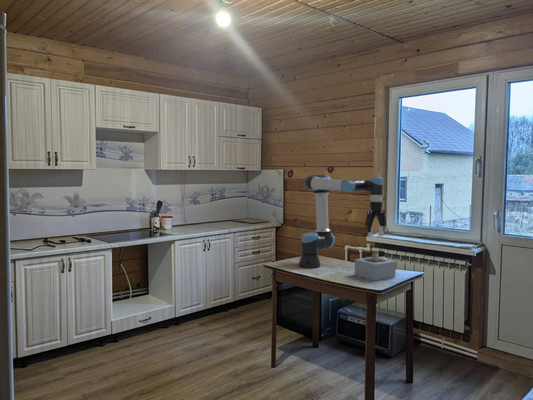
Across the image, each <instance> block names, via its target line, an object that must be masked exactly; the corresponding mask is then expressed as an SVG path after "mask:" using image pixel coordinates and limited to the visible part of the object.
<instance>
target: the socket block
mask: <svg viewBox="0 0 533 400" xmlns="http://www.w3.org/2000/svg"><path fill="white" fill-rule="evenodd" d="M387 259H388V258H386V259H383V258H379V257H378V261H372V256H369V257H363V258H355V259H354V276H359V277H360V278H361V277H362V278H364V279H368V280H372V281H375V282H376V281H381V280H385V279H392V278H396V269H397V268H396V263H397V262H396V260H391V259H388V260H387Z"/></svg>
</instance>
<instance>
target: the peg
mask: <svg viewBox="0 0 533 400" xmlns="http://www.w3.org/2000/svg"><path fill="white" fill-rule="evenodd" d="M378 253H379V251H377V250H371V257H372V261H378Z"/></svg>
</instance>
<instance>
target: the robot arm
mask: <svg viewBox="0 0 533 400" xmlns="http://www.w3.org/2000/svg"><path fill="white" fill-rule="evenodd" d="M383 182H384V181H383V177H380V176H377V177H376V176H373V177H370V179H369V180H368V179H356V180H355V179H335V178H331V177H330V176H329V175H328V174H310V175H307V176H306V177H305V178H304V181H303V186H304V188H305V189H306V190H307V191H310V192H312V193H313V195H314V196H315V211H316V212H315V214H316V216H315V217H316V219H315V220H316V229H315V230H314V232H311V231H310V232H305V233H303V234H302V235H301V238H300V239H301V244H300V245H301V248H300V249H301V251H300V252H301V254H300V255H301V256H300V257H299V261H298V266H299V267H300V268H304V269H316V268H321V262H320V258H319V251H322V250H328V249H331V248H332V247H333V246H334V244H335V235H334V234H333V233H332V230H331V229H330V226H329V225H330V223H329V222H330V221H329V204H328V203H329V202H328V198H329V197H328V196H329V194H330V191H337V192H345V193H361V192H367V193H369V192H370V194H369V195H370V197H369V201H370V202H369V204H370V205H369V207H370V210H366V219H365V225H364V226H365V227H366V228H367V233H368V235H367V237H368V238H373V227H372V226H373V223H374V220H375V218H377V221H378V223H379V226H378V237H383V236H384V235H383V234H384V227H385V226H386V225H387V222H386V210H385V209H382V208H383V188H384V183H383Z"/></svg>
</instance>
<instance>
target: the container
mask: <svg viewBox="0 0 533 400" xmlns="http://www.w3.org/2000/svg"><path fill="white" fill-rule="evenodd" d="M376 251H379V253H378V257H379V258H383V259H387V260H389V259H388V258H386V256H385V255H386V251H384V250H380V249H377V250H376Z"/></svg>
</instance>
